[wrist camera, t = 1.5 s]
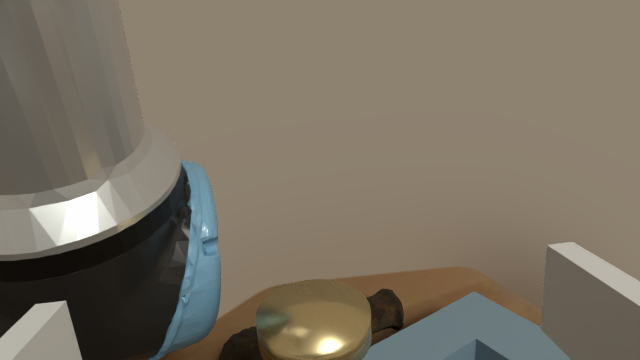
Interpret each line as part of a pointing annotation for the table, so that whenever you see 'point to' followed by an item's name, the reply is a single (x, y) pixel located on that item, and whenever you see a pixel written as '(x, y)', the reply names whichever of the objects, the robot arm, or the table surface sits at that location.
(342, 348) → the pin
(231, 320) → the table surface
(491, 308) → the socket block
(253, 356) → the dark brown wooden club
